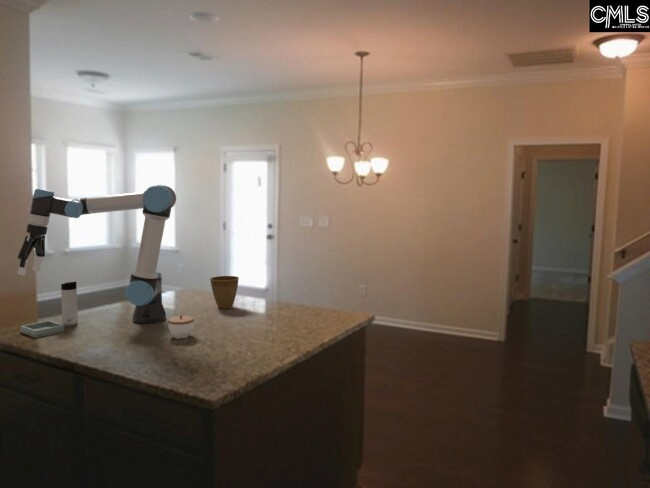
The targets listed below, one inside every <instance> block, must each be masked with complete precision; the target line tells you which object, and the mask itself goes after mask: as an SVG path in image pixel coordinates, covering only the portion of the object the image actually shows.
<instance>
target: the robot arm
mask: <svg viewBox="0 0 650 488" xmlns="http://www.w3.org/2000/svg"><path fill="white" fill-rule="evenodd" d="M176 202H177V195H176V192H175V190H173V188H171V187H170V186H168V185H162V184H153V185H150V186H149V187H148V188H146V189H145V190H144V191H138V192H132V193H131V192H130V193H129V192H128V193H122V194H121V193H120V194H110V195H102V196H101V195H100V196H91V197H82V198H63V197H60V196H59V197H58V196H55V192H54V191H53V190H49V189H43V188H35V189H34V192H33V195H32V198H31V205H30V211H29V215H28V222H27V223H28V224H27V227H26V233H28V234H29V235H25V237H24V241H23V244H22V246H21V248H20V251H19V253H18V256H17V259H18V260H19V265H18V269H17V275H20V276H26V273H27V268H28V267H27V266H28V262H29V260H28V259H29V257H30V254H31V253H32V251H33V249H34V252H35V255H34V257H33V263H32V270H31V271H35V272H40V269H41V265H42V264H41V263H42V259H43V258H45V257H46V256H45V255H46V244H45V243H46V241H45V240H46V235H47V232H48V226H49V222H50V217H51V214H55V215H59V216H63V217H67V218H71V219H72V218H73V219H79V218H80V217H81V216H83V215H91V214H93V215H94V214H99V213H112V212H113V213H114V212H119V211H121V212H122V211H132V210H139V209H140V210H141V209H142V214H143V216H144V222H143V227H142V228H143V229H142V233H141V234H142V235H141V237H140V238H141V239H140V242H139V243H140V244H139V251H138V254H137V260H136V266H135V270H133V271H132V272H131V273H130V280H129V283H128V284H127V286H126V289H125V296H126V297H125V298H126V299H127V301H128V302H129V303H130V304H132V305H134V306H135V307H134V310H133V314H132V321H133V322H134V323H139V324H152V323H159V322H162V321H164V320H166V319H167V313H166V311H165V307H164V305H163V298H162V297H163V296H162V295H163V294H162V293H163V292H162V291H163V290H162V287H163V286H162V280H163V277H162V273H161V272H159V271H157V267H158V263H159V256H160V250H161V246H162V240H163V236H164V230H165V225H166V221H167V220H169V219H170V217H171V212H172V208H173V207H174V206H175V205H176Z"/></svg>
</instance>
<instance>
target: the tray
mask: <svg viewBox="0 0 650 488" xmlns="http://www.w3.org/2000/svg"><path fill="white" fill-rule="evenodd" d="M65 331H66V330H65V326H64V325H63V324H62V323H59V322H56V321H52V320H49V319H48V320H45V321H40V322H34V323H29V324H24V325H21V326H20V333H22V334H24V335H27V336H29V337H32V338H35V339H36V338H39V337H40V338H41V337H44V336H45V337H46V336H50V335H54V334H59V333H63V332H65Z"/></svg>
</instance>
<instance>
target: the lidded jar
mask: <svg viewBox="0 0 650 488" xmlns="http://www.w3.org/2000/svg"><path fill="white" fill-rule="evenodd" d="M167 327H168V331H169V333H170V335H171V336H172V337H173V338H174V339H178V340H181V338H183V339H187V338H189V336H190V335H191V334H192V332H193V331H194V327H195V318H194V316H190V315H183V314H179V315H176V316H172V317H169V318H168V319H167Z"/></svg>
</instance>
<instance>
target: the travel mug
mask: <svg viewBox="0 0 650 488" xmlns="http://www.w3.org/2000/svg"><path fill="white" fill-rule="evenodd" d="M77 283H78V282H77V281H68V282H64V283H60V287H61V288H60V289H61V291H60V295H61V317H62V318H61V319H62V323H61V324H62V325H64V328H65V327H66V328H67V327H68V328H69V327H75V326H77V325H78V324H79V319H78V318H79V316H78V315H79V314H78V290H77V289H78V288H77Z"/></svg>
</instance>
